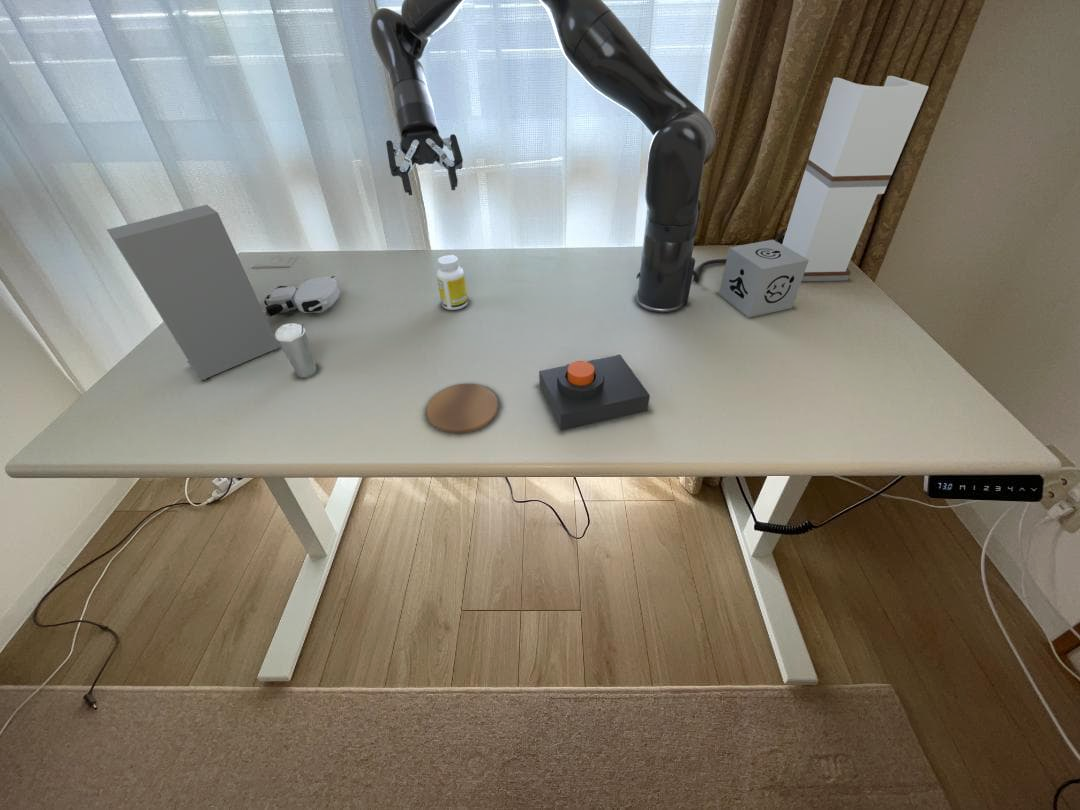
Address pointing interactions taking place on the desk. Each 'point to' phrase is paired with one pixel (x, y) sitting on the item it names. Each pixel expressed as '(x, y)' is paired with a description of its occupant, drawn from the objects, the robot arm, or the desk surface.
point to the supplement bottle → (451, 283)
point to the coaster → (462, 408)
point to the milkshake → (296, 348)
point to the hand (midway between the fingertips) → (432, 190)
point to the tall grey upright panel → (197, 287)
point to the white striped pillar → (849, 170)
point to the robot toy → (303, 297)
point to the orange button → (580, 373)
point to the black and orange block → (594, 393)
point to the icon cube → (762, 277)
